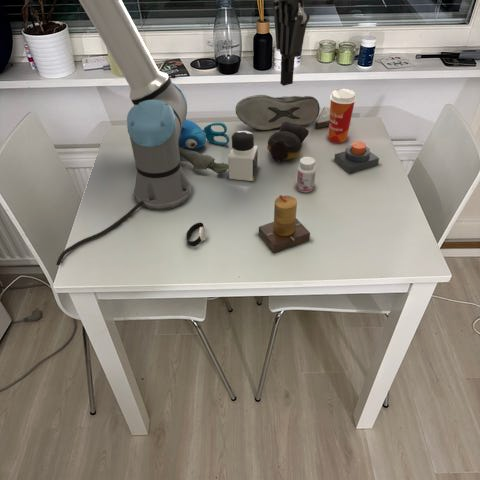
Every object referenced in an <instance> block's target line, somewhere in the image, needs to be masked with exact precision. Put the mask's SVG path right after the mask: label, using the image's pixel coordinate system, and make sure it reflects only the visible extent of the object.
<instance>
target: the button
mask: <svg viewBox="0 0 480 480" xmlns="http://www.w3.org/2000/svg"><path fill="white" fill-rule="evenodd" d="M351 145H352V147H351V152H352V153H353V154H357V155H361V154H364V153H365V149H366V147H367V144H366V142H363V141H354V142H352V143H351Z"/></svg>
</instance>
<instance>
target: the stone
mask: <svg viewBox="0 0 480 480" xmlns="http://www.w3.org/2000/svg"><path fill="white" fill-rule="evenodd" d="M329 120H330V107H328V106H324V107H323V108H322V110H321V112H320V113H319V115H318V117H317V119H316V122H315V128H316V129H319V128H324V127H329Z"/></svg>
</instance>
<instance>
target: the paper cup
mask: <svg viewBox="0 0 480 480" xmlns="http://www.w3.org/2000/svg"><path fill="white" fill-rule="evenodd" d="M329 99H330V107H329V108H330V120H329V126H328V140H329V141H330V142H332V143H334V144H342V143H344V142H346V141H347V138H348V133H349V129H350V125H351V121H352V116H353V111H354V106H355V102H356V101H357V97H356V92H355V90H352V89H350V88H349V89H348V88H338V89H336V90H333V91H332V92H331V94H330V96H329Z"/></svg>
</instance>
